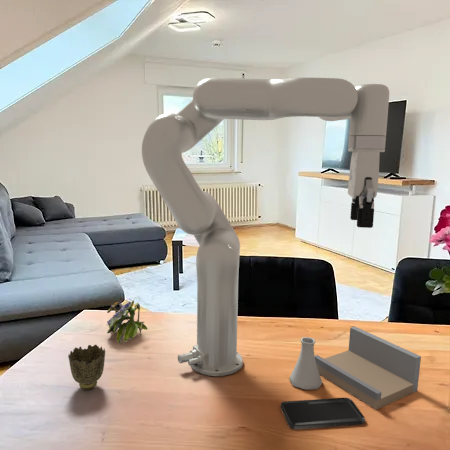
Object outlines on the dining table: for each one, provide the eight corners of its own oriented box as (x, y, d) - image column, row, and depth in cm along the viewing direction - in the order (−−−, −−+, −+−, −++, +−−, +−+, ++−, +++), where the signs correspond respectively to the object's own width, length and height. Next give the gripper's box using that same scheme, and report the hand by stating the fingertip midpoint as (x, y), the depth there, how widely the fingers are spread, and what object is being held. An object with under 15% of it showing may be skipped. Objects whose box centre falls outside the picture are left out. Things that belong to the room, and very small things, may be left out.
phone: (367, 420, 80) (290, 426, 78) (366, 426, 80) (290, 431, 78) (349, 396, 88) (279, 401, 85) (349, 401, 88) (278, 406, 86)
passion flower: (114, 351, 118) (112, 309, 123) (153, 344, 118) (149, 302, 123) (101, 345, 108) (100, 299, 113) (143, 337, 108) (140, 292, 113)
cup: (104, 375, 95) (103, 342, 94) (108, 392, 88) (107, 357, 87) (69, 381, 93) (67, 347, 91) (70, 399, 86) (68, 363, 84)
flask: (322, 393, 90) (325, 349, 88) (288, 388, 92) (290, 345, 90) (321, 375, 97) (324, 334, 95) (290, 371, 99) (292, 331, 97)
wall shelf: (376, 409, 85) (379, 372, 83) (312, 370, 99) (314, 338, 98) (417, 390, 92) (421, 356, 90) (352, 356, 107) (354, 326, 105)
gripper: (343, 145, 100) (339, 217, 103) (354, 144, 83) (348, 229, 86) (376, 145, 99) (371, 218, 102) (394, 144, 82) (387, 231, 85)
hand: (360, 223), depth 94 cm, fingers open, 9 cm apart
